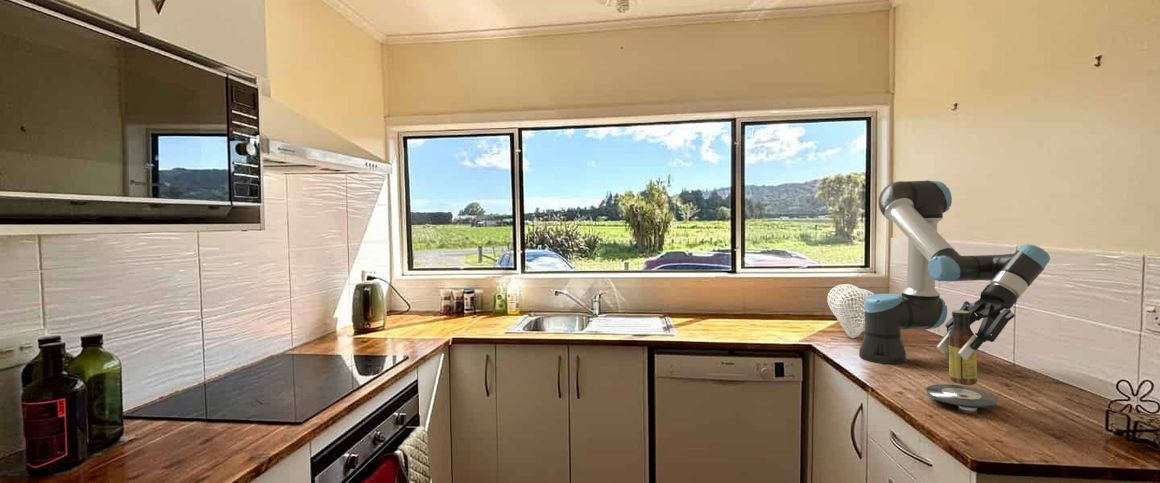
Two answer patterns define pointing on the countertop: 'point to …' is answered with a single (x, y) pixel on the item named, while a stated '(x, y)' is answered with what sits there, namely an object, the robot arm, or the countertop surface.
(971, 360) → the sauce bottle
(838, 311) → the heart
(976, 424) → the countertop surface
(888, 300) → the robot arm
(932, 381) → the countertop surface
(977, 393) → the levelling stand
